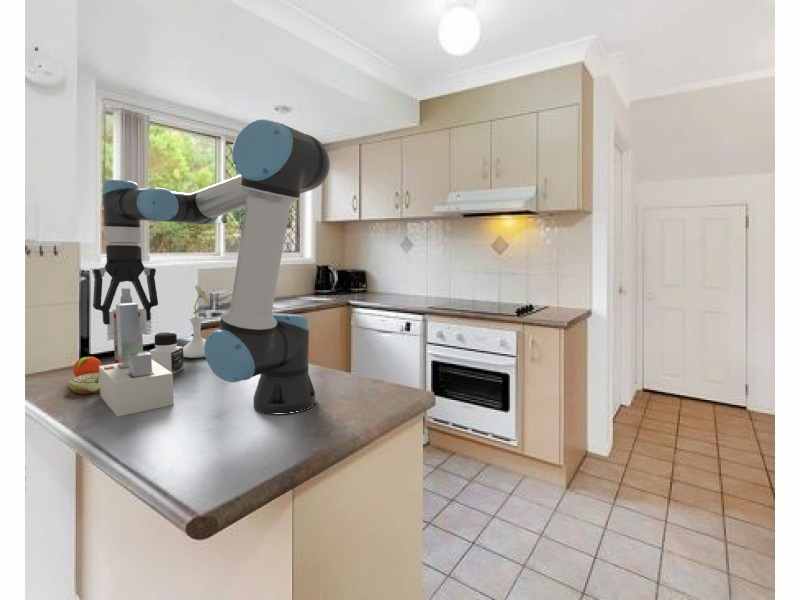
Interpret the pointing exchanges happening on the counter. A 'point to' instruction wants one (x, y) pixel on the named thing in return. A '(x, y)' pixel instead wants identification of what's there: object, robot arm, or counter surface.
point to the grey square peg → (139, 364)
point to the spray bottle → (124, 299)
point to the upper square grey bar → (127, 331)
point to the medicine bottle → (168, 352)
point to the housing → (135, 389)
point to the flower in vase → (196, 332)
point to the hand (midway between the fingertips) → (128, 335)
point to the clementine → (86, 366)
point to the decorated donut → (85, 383)
